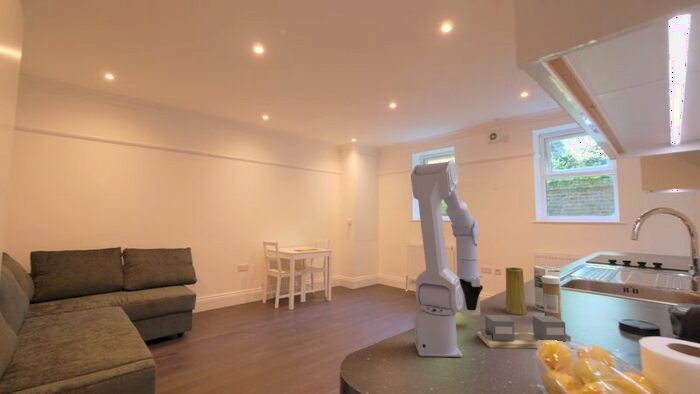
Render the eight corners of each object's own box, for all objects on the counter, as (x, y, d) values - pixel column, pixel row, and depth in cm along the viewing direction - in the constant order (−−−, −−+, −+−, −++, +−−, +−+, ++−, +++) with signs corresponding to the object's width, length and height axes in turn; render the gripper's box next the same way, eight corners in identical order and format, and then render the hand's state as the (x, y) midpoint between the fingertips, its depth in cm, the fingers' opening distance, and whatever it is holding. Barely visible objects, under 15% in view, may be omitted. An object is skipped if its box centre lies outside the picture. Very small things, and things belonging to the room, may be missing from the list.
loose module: (462, 314, 87) (461, 295, 87) (457, 310, 91) (457, 292, 92) (480, 315, 87) (479, 296, 87) (474, 310, 91) (474, 292, 92)
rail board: (489, 347, 74) (488, 323, 74) (477, 335, 82) (477, 313, 82) (577, 349, 73) (575, 324, 73) (556, 336, 81) (555, 314, 81)
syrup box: (534, 308, 107) (532, 265, 109) (550, 307, 108) (547, 265, 109) (546, 313, 102) (544, 268, 103) (563, 312, 102) (560, 267, 104)
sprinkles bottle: (565, 323, 92) (562, 276, 93) (557, 326, 89) (555, 278, 90) (548, 319, 95) (545, 274, 96) (540, 321, 93) (538, 276, 94)
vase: (522, 310, 105) (520, 267, 106) (530, 315, 99) (527, 270, 100) (503, 309, 106) (501, 267, 107) (509, 314, 100) (507, 269, 101)
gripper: (490, 262, 83) (492, 315, 82) (472, 256, 97) (474, 301, 96) (464, 262, 83) (465, 314, 82) (449, 256, 98) (450, 300, 97)
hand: (468, 307), depth 89 cm, fingers closed on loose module, 4 cm apart
